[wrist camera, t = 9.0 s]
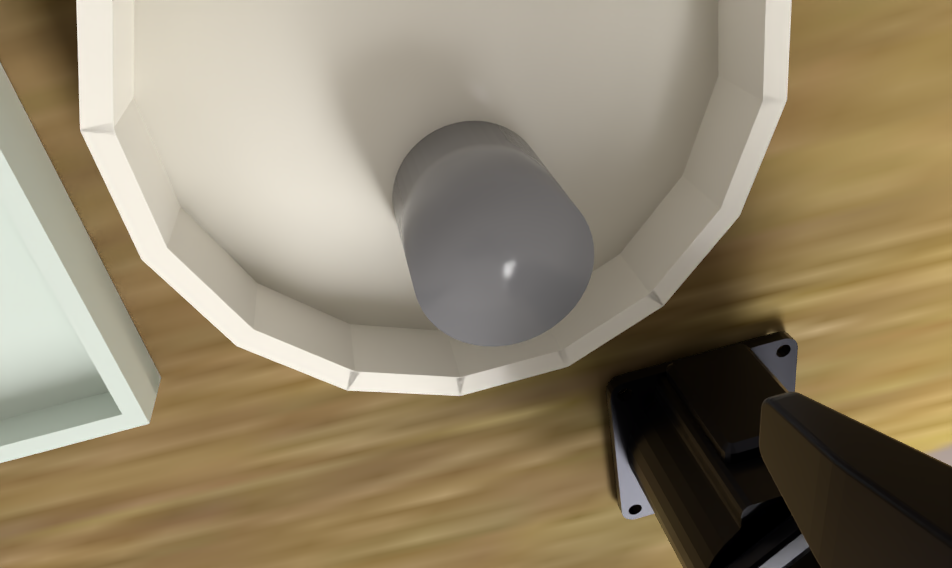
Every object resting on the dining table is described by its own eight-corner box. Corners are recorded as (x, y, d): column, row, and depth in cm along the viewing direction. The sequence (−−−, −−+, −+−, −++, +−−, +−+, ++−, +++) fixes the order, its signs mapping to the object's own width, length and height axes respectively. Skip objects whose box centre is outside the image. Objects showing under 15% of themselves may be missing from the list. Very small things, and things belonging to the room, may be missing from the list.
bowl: (725, 258, 23) (777, 309, 21) (242, 386, 22) (235, 456, 20) (726, -368, 15) (811, -409, 13) (-25, -223, 14) (-95, -236, 12)
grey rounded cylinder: (551, 243, 21) (601, 321, 18) (410, 279, 21) (433, 365, 17) (533, 104, 19) (585, 161, 15) (376, 141, 18) (393, 208, 15)
